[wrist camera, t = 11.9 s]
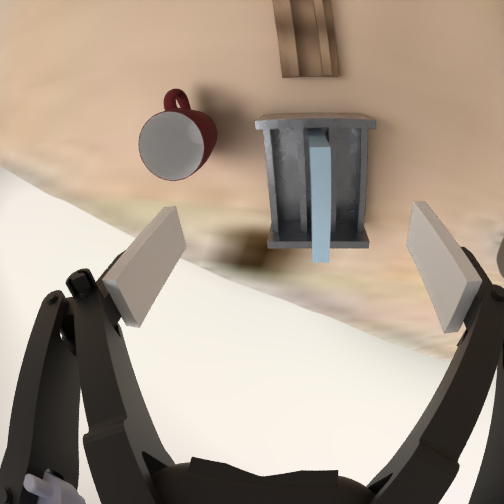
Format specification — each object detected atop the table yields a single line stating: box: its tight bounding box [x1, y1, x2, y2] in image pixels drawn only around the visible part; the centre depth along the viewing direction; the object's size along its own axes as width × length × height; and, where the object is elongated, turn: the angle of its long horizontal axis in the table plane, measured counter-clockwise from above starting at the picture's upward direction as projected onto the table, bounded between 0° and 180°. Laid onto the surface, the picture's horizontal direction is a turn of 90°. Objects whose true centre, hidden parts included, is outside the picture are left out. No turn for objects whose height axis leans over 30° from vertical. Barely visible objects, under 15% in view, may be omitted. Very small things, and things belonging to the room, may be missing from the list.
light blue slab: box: [308, 129, 331, 263], centre depth 31 cm, size 12×2×12 cm, turn 6°
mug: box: [139, 89, 217, 181], centre depth 31 cm, size 10×8×10 cm
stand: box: [272, 0, 339, 78], centre depth 25 cm, size 14×7×3 cm, turn 6°
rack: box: [255, 113, 376, 248], centre depth 34 cm, size 16×13×7 cm
